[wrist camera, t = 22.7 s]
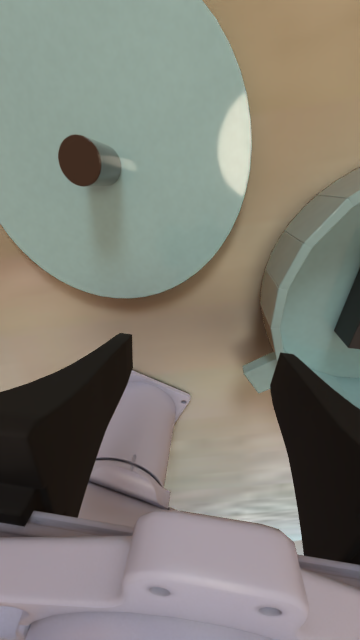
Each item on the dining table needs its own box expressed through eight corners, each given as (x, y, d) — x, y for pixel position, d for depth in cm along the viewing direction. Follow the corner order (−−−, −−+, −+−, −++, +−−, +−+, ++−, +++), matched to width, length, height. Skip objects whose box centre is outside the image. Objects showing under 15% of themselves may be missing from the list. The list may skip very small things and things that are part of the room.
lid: (300, 201, 18) (327, 207, 14) (105, 330, 24) (83, 359, 20) (118, -177, 12) (66, -379, 7) (-76, 132, 18) (-160, 117, 14)
